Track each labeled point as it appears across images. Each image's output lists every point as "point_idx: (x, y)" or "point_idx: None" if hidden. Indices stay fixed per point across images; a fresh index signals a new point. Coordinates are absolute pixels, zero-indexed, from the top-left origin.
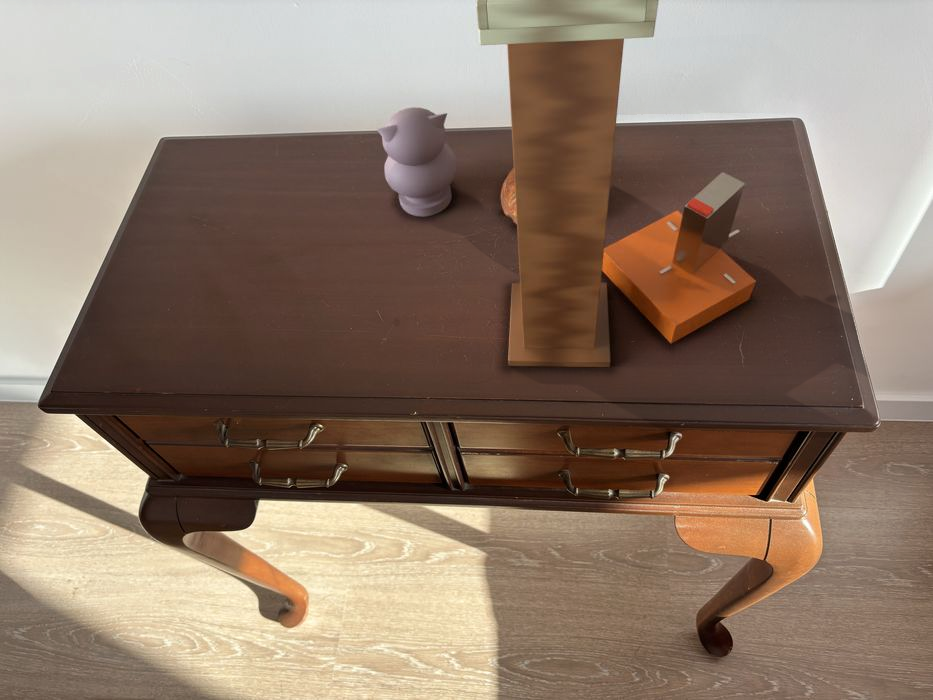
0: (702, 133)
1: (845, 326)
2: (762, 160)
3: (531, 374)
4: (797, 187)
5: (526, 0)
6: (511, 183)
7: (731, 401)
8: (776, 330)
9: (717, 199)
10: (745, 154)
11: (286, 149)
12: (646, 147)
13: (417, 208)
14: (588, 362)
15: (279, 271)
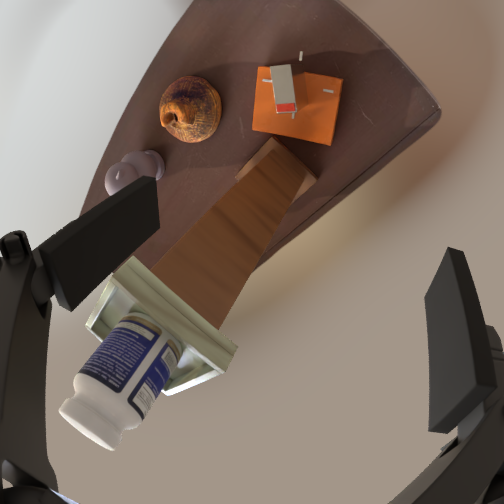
0: None
1: (400, 58)
2: None
3: (291, 210)
4: None
5: (179, 390)
6: (172, 133)
7: (384, 151)
8: (372, 88)
9: (288, 91)
10: None
11: (92, 197)
12: (193, 27)
13: (157, 179)
14: (308, 188)
15: (159, 247)
